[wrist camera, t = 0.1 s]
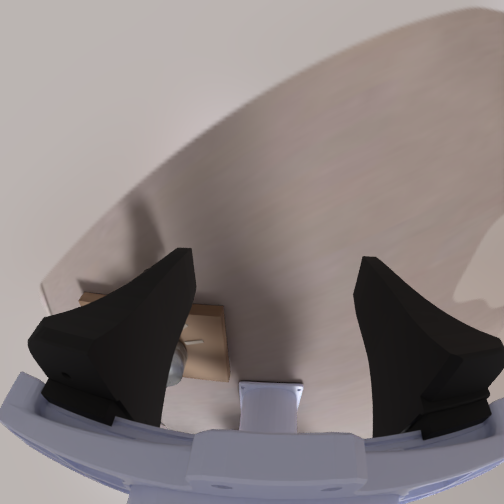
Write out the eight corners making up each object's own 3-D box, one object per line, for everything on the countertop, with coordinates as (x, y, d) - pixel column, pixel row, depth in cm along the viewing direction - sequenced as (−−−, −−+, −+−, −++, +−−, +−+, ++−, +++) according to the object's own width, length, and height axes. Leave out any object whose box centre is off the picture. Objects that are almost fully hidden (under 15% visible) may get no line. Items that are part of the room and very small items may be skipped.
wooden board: (230, 372, 32) (228, 383, 31) (114, 354, 34) (109, 363, 32) (223, 305, 27) (220, 317, 25) (84, 292, 28) (78, 301, 27)
